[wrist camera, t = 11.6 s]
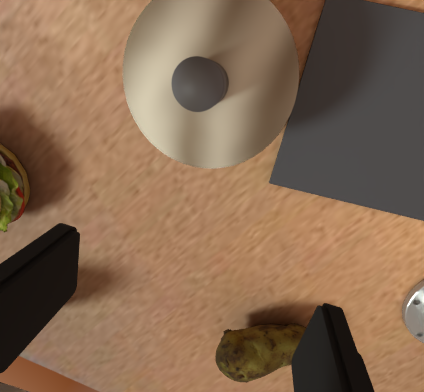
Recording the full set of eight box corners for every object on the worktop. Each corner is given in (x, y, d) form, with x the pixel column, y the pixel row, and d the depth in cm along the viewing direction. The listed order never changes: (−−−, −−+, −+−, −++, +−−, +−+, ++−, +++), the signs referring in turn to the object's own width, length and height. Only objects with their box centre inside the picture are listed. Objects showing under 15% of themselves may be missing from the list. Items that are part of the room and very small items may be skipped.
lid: (323, 0, 22) (346, -24, 17) (269, 181, 28) (273, 206, 23) (135, -38, 23) (97, -74, 17) (121, 146, 29) (90, 162, 23)
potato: (296, 358, 45) (304, 413, 37) (215, 335, 45) (208, 385, 38) (316, 319, 41) (329, 372, 34) (229, 294, 42) (223, 341, 34)
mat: (536, 38, 26) (541, 38, 25) (429, 220, 34) (431, 222, 33) (327, -6, 27) (328, -8, 26) (269, 181, 34) (269, 183, 34)
